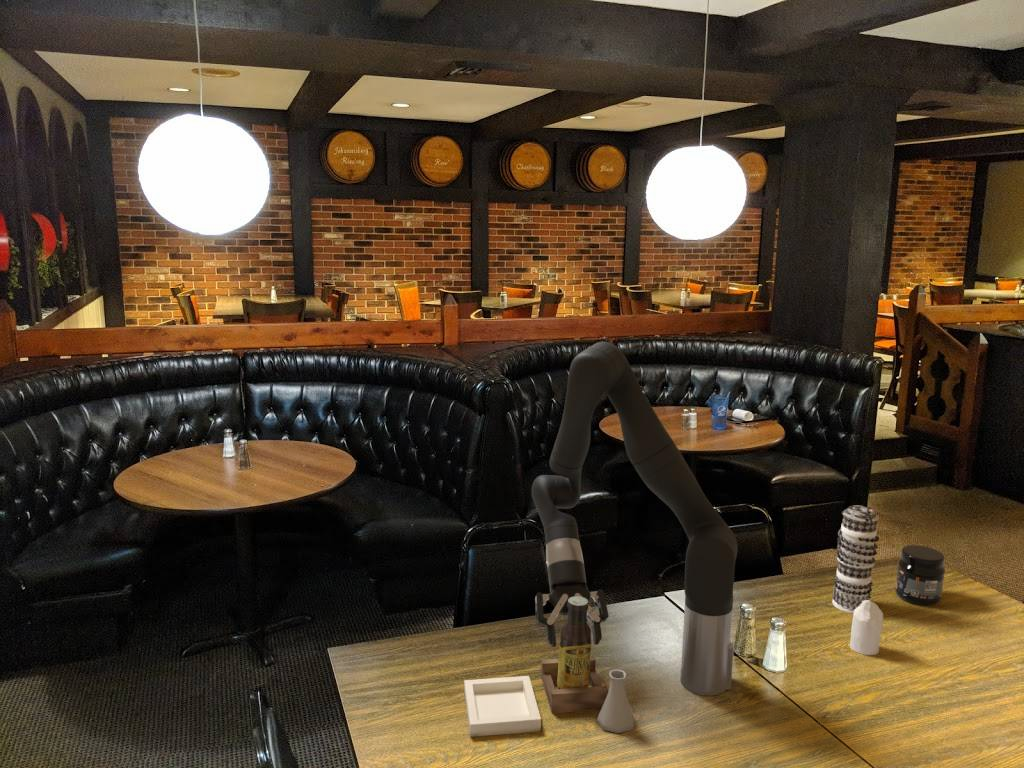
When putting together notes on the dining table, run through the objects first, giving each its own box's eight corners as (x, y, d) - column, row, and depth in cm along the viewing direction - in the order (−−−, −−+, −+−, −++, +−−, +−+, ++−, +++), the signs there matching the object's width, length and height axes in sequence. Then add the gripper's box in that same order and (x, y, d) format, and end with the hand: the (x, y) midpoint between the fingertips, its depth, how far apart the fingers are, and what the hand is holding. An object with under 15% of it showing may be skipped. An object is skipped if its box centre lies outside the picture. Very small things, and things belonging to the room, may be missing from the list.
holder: (593, 673, 164) (593, 656, 164) (607, 708, 153) (608, 690, 152) (540, 677, 163) (541, 659, 162) (551, 713, 151) (552, 694, 150)
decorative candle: (874, 602, 195) (885, 506, 190) (868, 618, 188) (879, 519, 182) (834, 593, 200) (844, 499, 195) (827, 608, 193) (837, 510, 187)
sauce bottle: (562, 704, 154) (565, 610, 150) (552, 686, 160) (554, 595, 156) (594, 699, 156) (597, 606, 152) (583, 681, 162) (586, 591, 157)
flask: (637, 734, 145) (640, 685, 143) (598, 734, 145) (599, 685, 143) (632, 710, 152) (634, 663, 150) (595, 709, 153) (596, 662, 150)
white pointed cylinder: (882, 594, 174) (887, 606, 169) (876, 644, 177) (881, 657, 171) (853, 591, 175) (857, 603, 170) (847, 640, 178) (851, 653, 173)
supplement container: (905, 583, 206) (911, 540, 203) (948, 598, 198) (954, 553, 195) (886, 595, 199) (891, 551, 197) (929, 611, 191) (935, 565, 189)
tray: (528, 686, 160) (528, 675, 159) (540, 731, 146) (540, 719, 146) (464, 691, 158) (464, 680, 157) (470, 736, 144) (470, 724, 144)
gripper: (533, 559, 159) (542, 642, 150) (602, 556, 161) (615, 637, 152) (529, 572, 165) (537, 652, 157) (595, 569, 167) (607, 647, 159)
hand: (575, 644), depth 155 cm, fingers open, 8 cm apart
